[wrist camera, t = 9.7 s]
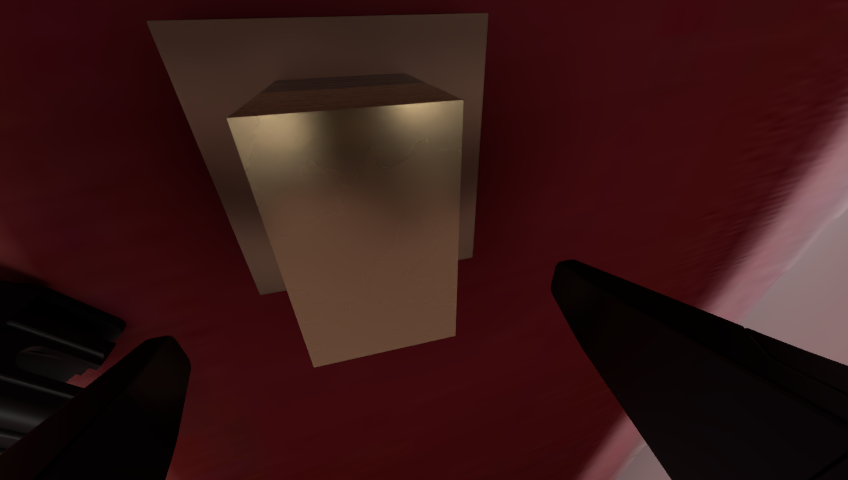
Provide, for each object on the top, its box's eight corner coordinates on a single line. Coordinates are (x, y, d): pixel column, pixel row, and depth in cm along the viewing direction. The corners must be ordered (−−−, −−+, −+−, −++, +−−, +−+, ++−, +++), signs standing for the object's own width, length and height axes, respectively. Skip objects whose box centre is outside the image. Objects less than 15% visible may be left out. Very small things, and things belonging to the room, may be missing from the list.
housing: (319, 252, 16) (313, 367, 11) (275, 80, 12) (226, 118, 6) (413, 237, 17) (455, 335, 12) (404, 72, 13) (463, 100, 7)
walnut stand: (176, 23, 12) (146, 20, 10) (466, 16, 15) (488, 13, 13) (267, 267, 19) (260, 294, 17) (458, 236, 21) (472, 257, 19)
